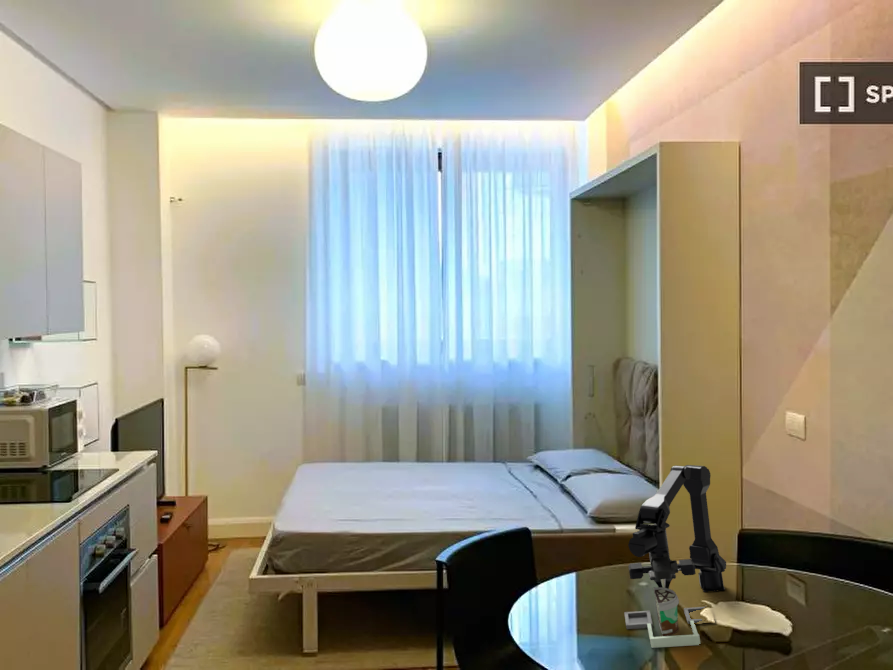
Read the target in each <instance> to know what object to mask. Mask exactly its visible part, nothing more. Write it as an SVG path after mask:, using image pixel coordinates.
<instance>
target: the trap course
mask: <svg viewBox="0 0 893 670" xmlns="http://www.w3.org/2000/svg"><path fill="white" fill-rule="evenodd" d="M705 607H706V606H697V607H696V606H694V607H684V608H683V613H684V615H685V618H686V622H687V625H688V624H690V625H691V626H690V625H689V626H690V628H692V629H691V631H692V634H681V635H669V636H663V635H661V636H654V634H653V627H654V626H653V625H654V624H653V620H652V615H651V611H650V610H641V611H640V610H639V611H624V613H623V614H624V619H625V627H626V630H634V629H638V630H639V629H647V633H648V638H649V643H650V647H651V649H655V648H670V647H673V648H674V647H685V646H686V647H687V646H700V645H699V644H701V638H700V634H699V633H698V630H697V627H696V625H695V624H694V623H697V622H699V621H702V619H691V618H690V615H689V613H690V612H693V611H696V610H701V609H703V608H705Z"/></svg>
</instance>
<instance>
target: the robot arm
mask: <svg viewBox="0 0 893 670" xmlns="http://www.w3.org/2000/svg"><path fill="white" fill-rule="evenodd" d="M682 486H683V487H684V489H685V490H686V491H687V493H688V495H689V499H690V508H691V519H692V526H693V527H692V528H693V534H694V540H693V542H692V544H691V545H689V547H688V549H689V558H687V559H685V558H684V559H678V561H677V560H676V559H675V560H672V559H671V558H670V550H669V544H668V543H669V541H668V536H667V535H668V534H667V529H668V528H669V527H671V526H670V524H669V523H668V522H667V521H668V519H669V516H670V513H671V509H670V506H671V504H672V503H673V501H674V499H675V497H676V496H677V494H678V493H679V491H680V489H681V488H682ZM710 486H711V472H710V469H709V468H708V467H707V466H706V465H694V464H686V465H673V466H672V467H671V468H670V472H669V473H668V475H667V476H666V478H665V480H663V483H662V485H661V486H660V487H659V489H658V490H657V491H656V494H654V495H653V496H651V497H649V498H648V499H646V500H645V501H644V502H643V503H642V505H641V506H640V508H639V511H638V516H637V519H636V523H635V527H634V528H635V530H637V531H634V532H633V533H632V537H631V538H630V539H629V541H628V546H627V547H628V550H629V551H630V553H631V554H632V555H634V557H637V558H642V557H643V556H646V555H647V554H649V561H650V565H648V566H647V565H646V566H643V565H642V564H643V563H642V562H635V563H634V562H633V563H629V564H628V573H629V579H631V580H641V579H642V578H643V577H644V574H648V578H649V580H650V581H654V582H655V584H656V586H657V587H662V588H668V589H670V585H671V582H672V580H674V579H676V578H677V576H676V574H677V573H678V574H679V571H680V572H681V574H682V575H683V576H695V575H696V574H697V573H696V570H699V572H698V580H699V586H700V589H702V591H703V592H704V593H709V592H708V591H713V592H718V591H717V590H725V591H726V588H725V585H724V579H723V572H725V571H726V569H727V561H726V560H725V559H724V558H723V557H722V556H721V555H720V553H719V549H718V545H717V544H716V543H715V541H714V540H713V539H712V534H711V524H710V517H709V516H710V515H709V508H708V501H707V500H708V499H707V492H708V489H709V488H710ZM662 580H663V584H664V587H663V584H662ZM706 591H707V592H706Z"/></svg>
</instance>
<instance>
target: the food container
mask: <svg viewBox="0 0 893 670" xmlns="http://www.w3.org/2000/svg"><path fill="white" fill-rule="evenodd" d="M653 594H654V600H655V605H656V606H655V608H656V613H657V621H658V625H659V629H660V631H661V634H662V635H661V636H673V635H676V633H677V632H679V617H678V616H679V615H678V605H679V603H680V600H679V597H678V594H677V593H676V591H675V590H673V589H670V588H669V589H668V588H664V587H663V588H662V587H658V586H656V587H653Z"/></svg>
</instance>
